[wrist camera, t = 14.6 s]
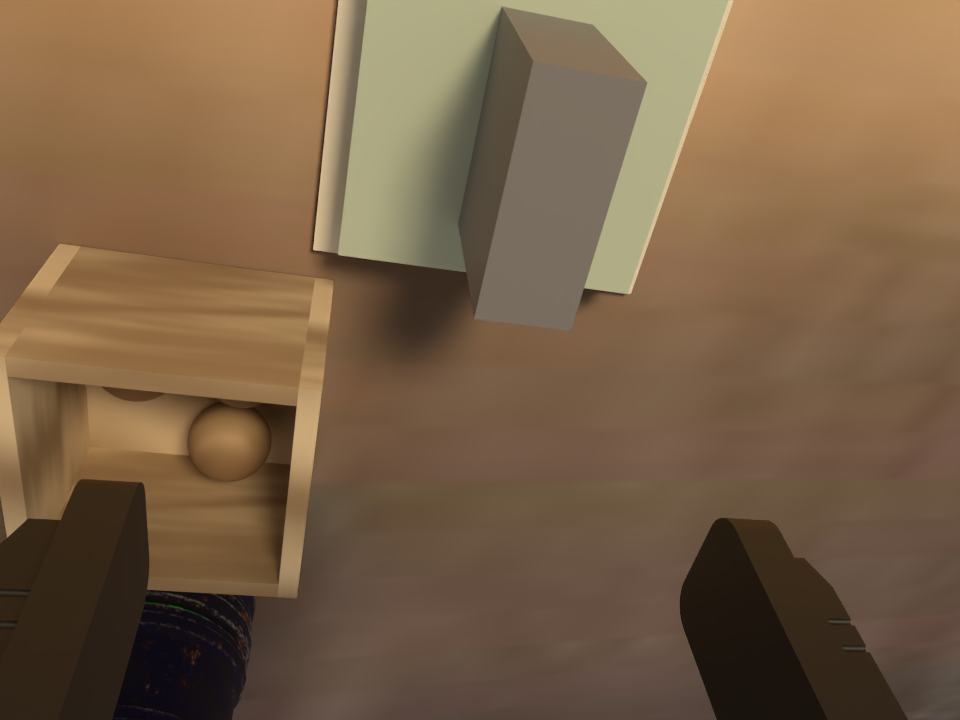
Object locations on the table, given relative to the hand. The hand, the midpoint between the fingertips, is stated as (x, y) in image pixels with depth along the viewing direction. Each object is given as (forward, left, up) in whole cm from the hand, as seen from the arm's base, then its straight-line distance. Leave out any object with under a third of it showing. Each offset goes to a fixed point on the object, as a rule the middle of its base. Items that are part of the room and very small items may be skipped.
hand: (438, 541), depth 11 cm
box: (+14, -7, -23) cm, 28 cm away
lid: (0, +4, -22) cm, 22 cm away
